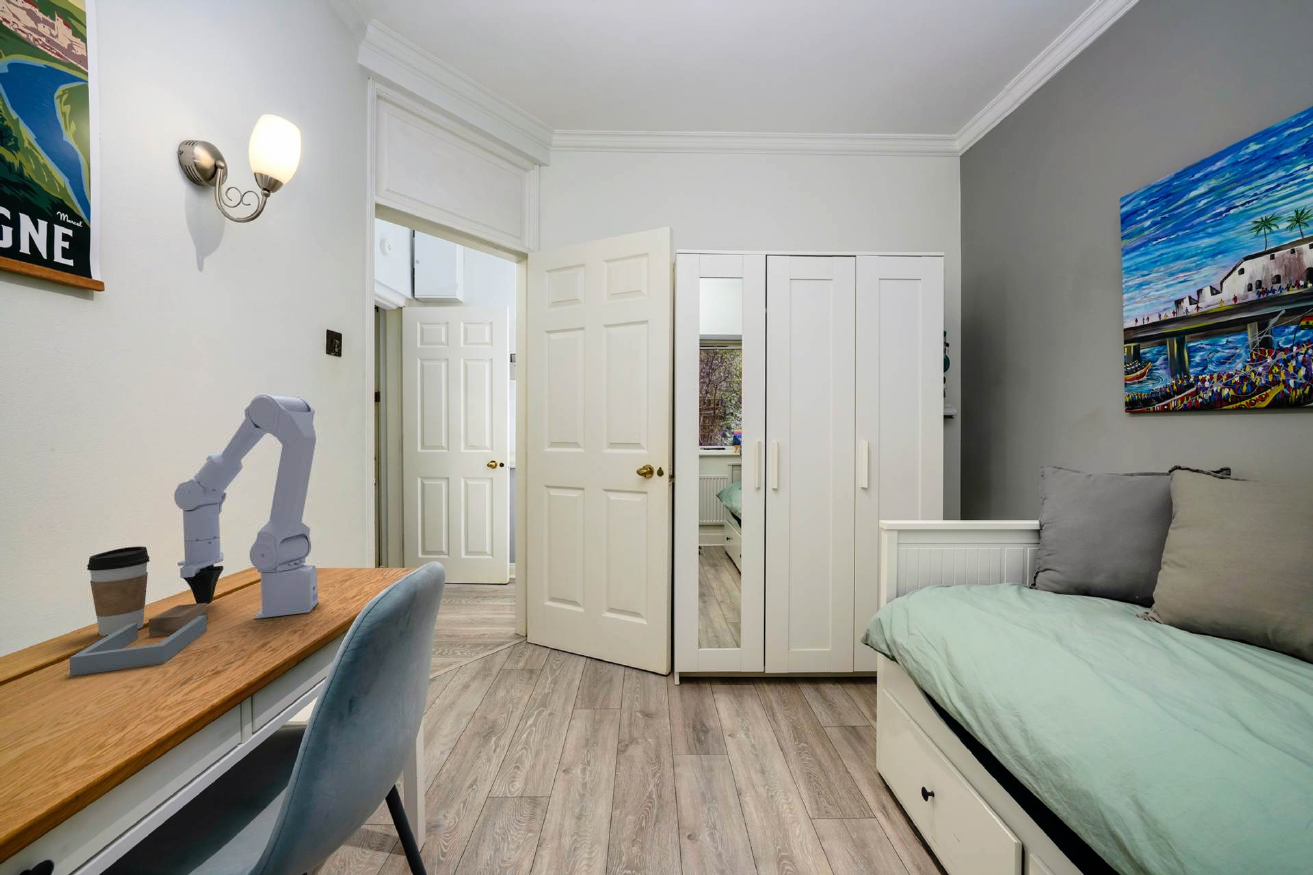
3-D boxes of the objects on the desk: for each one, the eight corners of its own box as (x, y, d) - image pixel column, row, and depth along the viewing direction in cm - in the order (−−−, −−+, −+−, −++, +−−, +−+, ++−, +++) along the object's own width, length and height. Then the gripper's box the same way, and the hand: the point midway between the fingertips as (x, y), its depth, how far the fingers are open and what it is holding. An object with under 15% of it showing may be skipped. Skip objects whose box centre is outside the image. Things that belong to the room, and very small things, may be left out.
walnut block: (207, 620, 107) (207, 602, 107) (181, 635, 99) (180, 616, 99) (178, 622, 106) (177, 605, 106) (149, 638, 98) (148, 618, 98)
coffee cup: (164, 622, 105) (161, 545, 105) (117, 638, 97) (114, 556, 97) (125, 621, 106) (123, 546, 106) (75, 638, 98) (72, 556, 98)
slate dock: (207, 629, 100) (206, 615, 100) (164, 663, 86) (163, 645, 86) (129, 639, 97) (128, 623, 97) (70, 675, 82) (69, 657, 82)
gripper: (194, 534, 118) (197, 596, 118) (159, 547, 104) (162, 617, 104) (233, 531, 120) (235, 592, 120) (204, 543, 106) (207, 612, 106)
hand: (204, 603), depth 112 cm, fingers closed
